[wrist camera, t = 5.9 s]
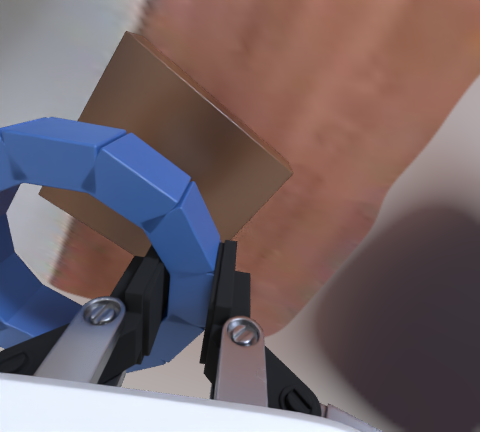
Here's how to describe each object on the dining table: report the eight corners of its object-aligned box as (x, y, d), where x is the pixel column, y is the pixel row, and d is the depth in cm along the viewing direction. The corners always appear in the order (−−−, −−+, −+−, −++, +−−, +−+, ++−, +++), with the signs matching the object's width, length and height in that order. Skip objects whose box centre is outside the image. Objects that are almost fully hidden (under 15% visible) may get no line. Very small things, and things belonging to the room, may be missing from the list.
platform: (60, 181, 25) (37, 194, 23) (142, 36, 20) (126, 30, 18) (191, 268, 29) (184, 288, 26) (289, 162, 24) (293, 173, 21)
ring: (-60, 256, 13) (-119, 292, 11) (24, 50, 9) (-42, 45, 7) (140, 359, 16) (123, 403, 14) (268, 234, 12) (272, 270, 10)
